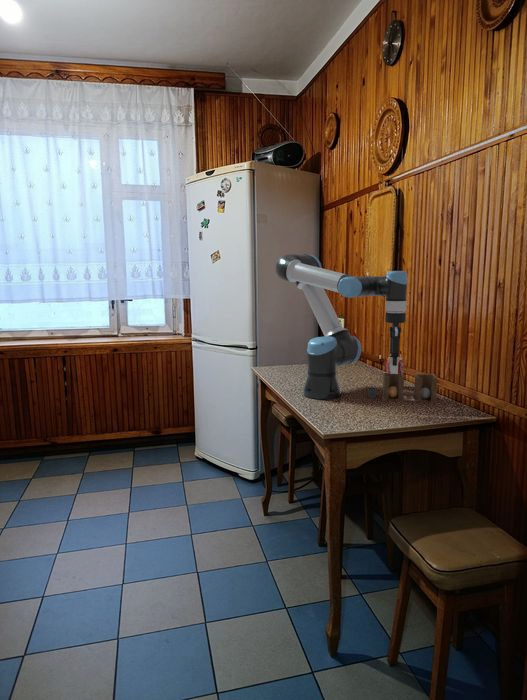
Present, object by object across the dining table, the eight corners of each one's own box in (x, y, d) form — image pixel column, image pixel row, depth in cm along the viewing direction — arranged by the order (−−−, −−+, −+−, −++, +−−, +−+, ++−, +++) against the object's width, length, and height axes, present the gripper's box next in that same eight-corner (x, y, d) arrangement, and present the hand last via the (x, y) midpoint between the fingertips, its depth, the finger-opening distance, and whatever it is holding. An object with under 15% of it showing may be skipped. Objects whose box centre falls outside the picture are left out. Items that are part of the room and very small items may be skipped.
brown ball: (388, 365, 179) (388, 354, 178) (387, 363, 183) (387, 352, 183) (400, 366, 178) (400, 354, 178) (399, 363, 183) (399, 352, 182)
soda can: (403, 390, 198) (404, 360, 196) (385, 389, 199) (386, 359, 197) (401, 386, 205) (402, 357, 203) (384, 385, 206) (385, 356, 204)
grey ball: (419, 400, 179) (420, 388, 178) (418, 397, 183) (418, 386, 182) (431, 400, 178) (432, 389, 177) (429, 397, 182) (430, 386, 182)
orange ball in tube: (387, 398, 181) (387, 387, 180) (386, 395, 185) (386, 385, 185) (399, 399, 180) (399, 388, 180) (398, 396, 185) (398, 385, 184)
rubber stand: (367, 400, 183) (368, 389, 183) (367, 398, 186) (367, 387, 186) (375, 400, 183) (376, 389, 182) (375, 398, 186) (375, 387, 185)
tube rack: (382, 402, 180) (383, 376, 179) (381, 397, 187) (382, 372, 186) (437, 404, 177) (438, 378, 175) (434, 399, 184) (435, 374, 182)
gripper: (408, 314, 168) (405, 377, 172) (403, 310, 185) (401, 368, 189) (386, 314, 170) (384, 376, 174) (384, 310, 187) (382, 367, 190)
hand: (393, 372), depth 181 cm, fingers closed on brown ball, 4 cm apart
